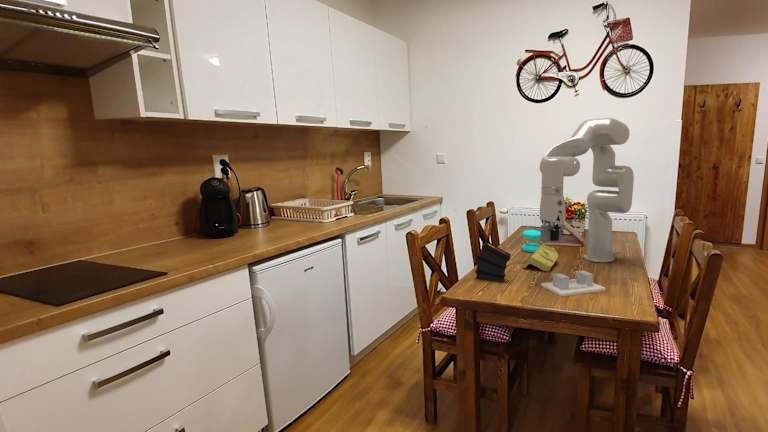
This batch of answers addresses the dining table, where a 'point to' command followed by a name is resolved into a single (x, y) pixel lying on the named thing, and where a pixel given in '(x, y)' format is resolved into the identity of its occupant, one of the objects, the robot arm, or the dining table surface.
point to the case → (568, 238)
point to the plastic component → (543, 258)
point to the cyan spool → (534, 236)
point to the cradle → (573, 284)
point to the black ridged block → (492, 263)
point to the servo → (548, 232)
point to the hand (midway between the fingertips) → (550, 238)
